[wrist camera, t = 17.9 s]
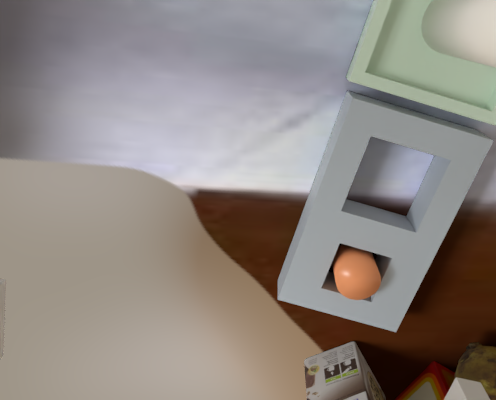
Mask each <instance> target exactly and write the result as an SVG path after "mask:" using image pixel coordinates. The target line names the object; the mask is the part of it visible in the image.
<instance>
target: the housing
mask: <svg viewBox="0 0 496 400" xmlns="http://www.w3.org/2000/svg"><path fill="white" fill-rule="evenodd" d="M371 137H375V138H378V139H381V140H385V141H388V142H392V143H395V144H398V145H402V146H405V147H408V148H412V149H415V150H418V151H422V152H425V153H428V154H432V155H435V156H434V158H433V160H432V162H431V164H430V166H429V169H428V171H427V173H426V175H425V177H424V179H423V181H422V184H421V186H420V188H419V190H418V192H417V194H416V197H415V199H414V201H413V203H412V205H411V207H410V209H409V212H408V214H407V216H403V215H400V214H397V213H393V212H390V211H386V210H383V209H379V208H376V207H372V206H369V205H366V204H362V203H359V202H355V201H352V200H348V199H346V197H347V195H348V192H349V190H350V187H351V185H352V182H353V180H354V177H355V175H356V173H357V170H358V168H359V165H360V163H361V160H362V158H363V155H364V153H365V150H366V148H367V145H368V143H369V140H370V138H371ZM493 141H494V140H492V139H490V138H489V137H487V136H486V135H484V134H482V133H481V132H479V131H478V130H475V129H472V128H469V127H465V126H462V125H459V124H455V123H452V122H449V121H446V120H442V119H439V118H436V117H432V116H429V115H426V114H422V113H419V112H416V111H413V110H409V109H406V108H403V107H399V106H396V105H393V104H389V103H386V102H383V101H380V100H376V99H373V98H370V97H366V96H363V95H360V94H356V93H353V92H350V91H347V92H346V95H345V98H344V100H343V103H342V106H341V109H340V111H339V114H338V117H337V119H336V122H335V125H334V128H333V130H332V133H331V136H330V139H329V141H328V144H327V147H326V150H325V152H324V155H323V158H322V160H321V163H320V166H319V169H318V171H317V174H316V177H315V180H314V182H313V185H312V188H311V191H310V193H309V196H308V199H307V201H306V204H305V207H304V210H303V212H302V215H301V218H300V221H299V223H298V226H297V229H296V232H295V234H294V237H293V240H292V242H291V245H290V248H289V251H288V253H287V256H286V259H285V262H284V264H283V267H282V270H281V273H280V275H279V278H278V300H281V301H285V302H288V303H292V304H296V305H299V306H303V307H306V308H310V309H314V310H317V311H321V312H325V313H328V314H332V315H335V316H339V317H343V318H346V319H350V320H354V321H357V322H361V323H364V324H368V325H372V326H375V327H379V328H383V329H386V330H390V331H393V332H396V331H397V329H398V327H399V325H400V323H401V321H402V319H403V318H404V316H405V314H406V312H407V310H408V308H409V306H410V304H411V302H412V300H413V298H414V296H415V294H416V292H417V290H418V288H419V286H420V284H421V282H422V280H423V278H424V276H425V274H426V272H427V271H428V269H429V267H430V265H431V263H432V261H433V259H434V257H435V255H436V253H437V251H438V249H439V247H440V245H441V243H442V241H443V239H444V237H445V235H446V233H447V231H448V229H449V227H450V226H451V224H452V222H453V220H454V218H455V216H456V214H457V212H458V210H459V208H460V206H461V204H462V202H463V200H464V198H465V196H466V194H467V192H468V190H469V188H470V186H471V184H472V182H473V180H474V179H475V177H476V175H477V173H478V171H479V169H480V167H481V165H482V163H483V161H484V159H485V157H486V155H487V153H488V151H489V149H490V147H491V145H492V143H493ZM340 243H341V244H344V245H348V246H351V247H355V248H358V249H362V250H365V251H369V252H373V253H376V254H378V255H377V257H376V259H375V262H376V265H377V267H378V270H379V273H380V276H381V284H380V287H379V289H378V290H377V292H376V293H375V294H373V295H372V296H370V297H368V298H366V299H362V300H353V299H349V298H347V297H345V296H343V295H342V294H341V293H340V292H339V291H338V289H337V286H336V282H335V277H334V273H331V272H328V271H329V268H330V266H331V264H332V261H333V259H334V256H335V254H336V251H337V249H338V247H339V244H340Z"/></svg>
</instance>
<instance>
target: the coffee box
mask: <svg viewBox="0 0 496 400" xmlns="http://www.w3.org/2000/svg"><path fill="white" fill-rule="evenodd" d="M304 365H305V378H306V392H307V400H386V397H385V395H384V393H383V391H382V389H381V387H380V385H379V384H378V382H377V380H376V378H375V376H374V375H373V373H372V371H371V369H370V368H369V366H368V364H367V362H366V360H365V359H364V357H363V355H362V353H361V351H360V350H359V348H358V346H357V344H356V342H355V341H353V342H350V343H347V344H344V345H342V346H339V347H336V348H333V349H331V350H328V351H325V352H322V353H320V354H317V355H314V356H311V357H309V358H306V359H305V361H304Z"/></svg>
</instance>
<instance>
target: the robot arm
mask: <svg viewBox="0 0 496 400" xmlns="http://www.w3.org/2000/svg"><path fill="white" fill-rule="evenodd" d="M5 291H6V280H5V279H1V278H0V359H1V358H2V357H3V347H4V319H5V317H4V316H5ZM444 400H490V398H489V397H488V395H487V393H486V391H485V389H484V388H483V386H482V384H481V383H480V382H476V381H471V380H467V379H462V378H457V377H456V378H455V380H454V382H453V383H452V385H451V387H450V389H449V391H448V393H447V395H446V397H445V398H444Z"/></svg>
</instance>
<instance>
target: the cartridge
mask: <svg viewBox="0 0 496 400" xmlns="http://www.w3.org/2000/svg"><path fill="white" fill-rule="evenodd" d="M421 30H422V35H423V38H424V40H425V42H426V44H427V45H428V46H429V47H430V48H431V49H432V50H434V51H436V52H438V53H441V54H445V55H449V56H453V57H457V58H461V59H464V60H468V61H472V62H476V63H480V64H484V65H488V66H491V67H495V68H496V0H433V1H432V2H431V3H430V4H429V6H428V7H427V9H426V11H425V13H424V15H423V19H422V25H421Z"/></svg>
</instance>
